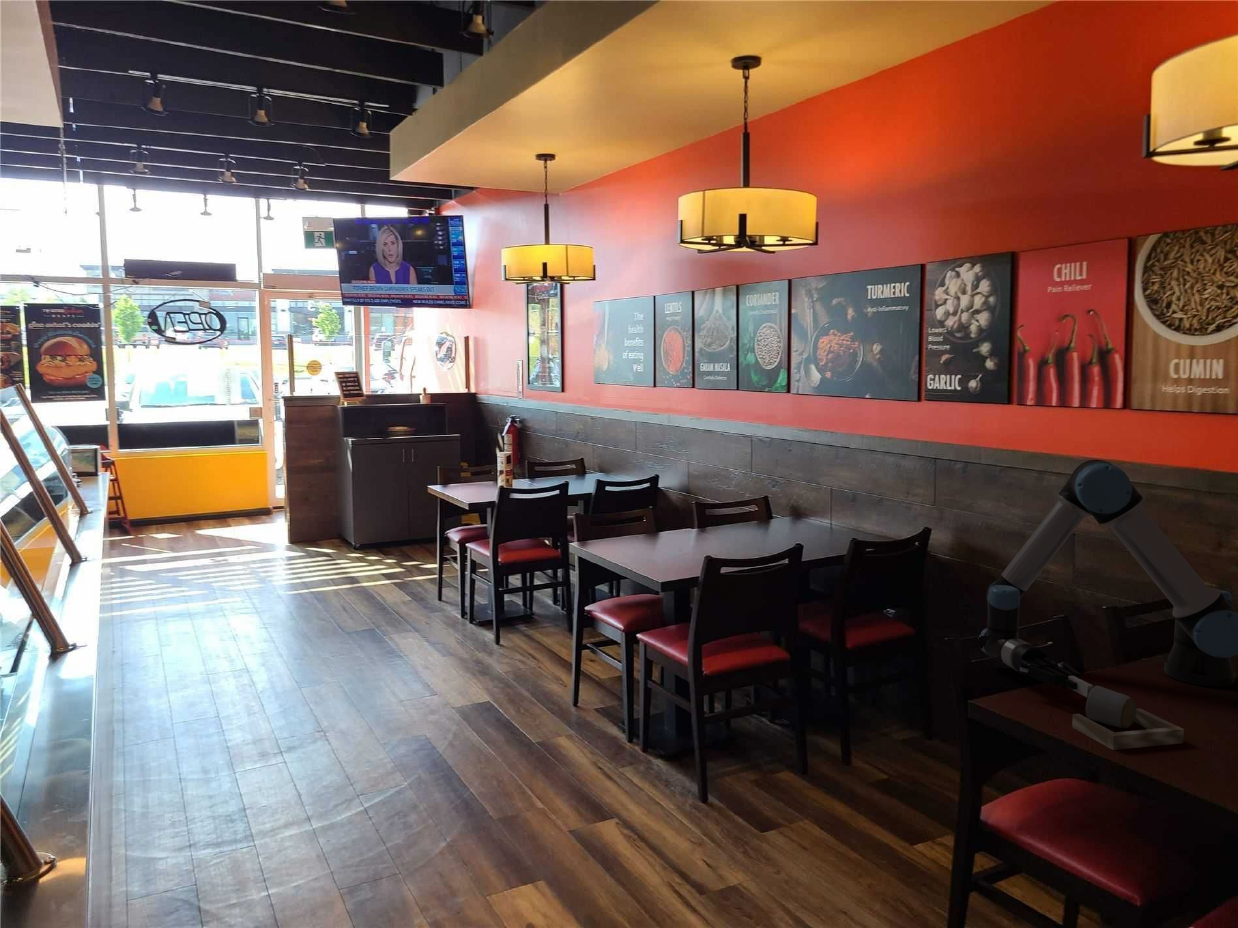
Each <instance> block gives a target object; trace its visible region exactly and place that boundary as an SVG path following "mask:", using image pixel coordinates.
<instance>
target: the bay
mask: <svg viewBox="0 0 1238 928" xmlns="http://www.w3.org/2000/svg"><path fill="white" fill-rule="evenodd" d="M1071 721H1072V722H1071V723H1072V724H1071V725H1072V726H1071V728H1072V727H1073V728H1072V729H1075V730H1076V731H1078V732H1080V733H1082V734H1084V735H1085V736H1087V737H1089V738H1091V739H1092V740H1094V741H1096V742H1098V743H1099V744H1101V745H1104V746H1105V747H1106V748H1108V749H1111V750H1112V751H1117V750H1126V749H1127V750H1128V749H1137V748H1147V747H1148V748H1149V747H1157V746H1169V745H1177V744H1184V735H1185V729H1184V728H1182V727H1180V726H1178V725H1175V724H1174V723H1171V722H1170V721H1167V720H1165V719H1163V718H1162V717H1159V716H1156V714H1153V713H1151V712H1148V711H1146V710H1145V709H1142V708H1138V707H1137V708H1136V715H1135V718H1134V721H1133V723H1135V724H1137V725H1138V726H1140V727H1142V728H1145V729H1140V730H1139V729H1137V730H1127V731H1117V732H1114V731H1113V730H1110V729H1109V728H1108V727H1105V726H1103V725H1101V724H1099V723H1097V721H1096V722H1095V720H1091V719H1089V718H1088V717H1087V716H1084V715H1083V714H1080V713H1072V720H1071Z"/></svg>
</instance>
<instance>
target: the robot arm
mask: <svg viewBox="0 0 1238 928" xmlns="http://www.w3.org/2000/svg"><path fill="white" fill-rule="evenodd" d="M1057 498H1058V500H1057V502H1056V503H1055V505H1054V506H1053V507H1052V508H1051V509H1050V510H1049V512H1048V514H1047V515H1045V517H1044V518H1043V519H1042V521H1041V523H1040V524H1039V525H1038V526H1037V528H1036V529H1035V530H1034V531H1033V533H1032V534H1031V535H1030V537H1028V539H1027V540H1026V541H1025V543H1024V544H1023V546H1022V547H1021V548H1020V549H1019V551H1018V552H1017V553H1016V555H1015V556H1014V557H1013V558H1012V560H1011V561H1010V563H1008V565H1007V566H1006V568H1004V570H1003V571H1002V573H1001V574H1000V576H999V577H998V578H997V579H996V581H994V582H993V583H992V582H991V584H990V585H989V587H987V588H988V589H987V590H986V600H987V601H986V602H987V625H986V628H984V629H983V630H982V631H981V633H980V635H979V636H978V638H979V637H981V636H990V635H993V634H994V636H990V639H989V640H987V642H986V644H985V646H983V648H982V649H981V648H980V650H981V652H983V653H985V655H988V657H990V658H991V657H992V656H1001V660H1003V661H1002V662H1003V663H1002V662H1001V663H1002V664H1005V666H1008V667H1010V668H1011V669H1012V670H1014V671H1015V672H1018V673H1019V674H1020V675H1022V676H1025V677H1029V678H1033V679H1035V680H1038V681H1040V682H1042V683H1045V684H1048V685H1051V686H1053V687H1057V686H1058V685H1059V686H1060V689H1061V690H1063V691H1066V690H1067V689H1069V690H1072V691H1073V692H1076V693H1078V694H1079V695H1082V696H1083V697H1085V698H1088V695H1089V693H1090V691H1091V690H1092V688H1093V687H1094V685H1093V684H1091V683H1089V682H1087V681H1085V680H1083V679H1082V674H1081V673H1080V672H1079V671H1078V670H1076V669H1075V668H1074V667H1072V666H1071V665H1070V664H1069V662H1068V661H1066V660H1064V661H1062V662H1060V663H1057V661H1055V660H1053V659H1050V658H1048V656H1047V654H1046V653H1045V651H1044V650H1042V649H1041V648H1039V647H1037V646H1035V645H1033V644H1032V643H1029V642H1027V641H1024V640H1023V639H1020V638H1019V624H1020V623H1019V620H1020V609H1021V608H1020V605H1021V599H1022V598H1023V596H1024V595H1025V593H1026V592H1027V591H1028V590H1029V588H1030V587H1031V586H1032V584H1033V583H1034V582H1035V580H1036V579H1037V578H1038V577H1039V575H1040V574H1041V573H1042V571H1044V569H1045V568H1046V567H1047V566H1048V565H1049V563H1050V562H1051V561H1052V559H1053V558H1054V557H1055V555H1056V554H1057V553H1058V551H1059V550H1060V549H1061V548H1062V546H1063V545H1064V544H1065V543H1066V541H1067V540H1068V539H1069V538H1070V537H1071V535H1072V534H1073V532H1074V531H1075V530H1076V529H1077V527H1078V526H1080V524H1081V522H1082V521H1083V520H1084V519H1085V518H1087V517H1093V518H1094V519H1095V521H1096V522H1097V524H1099V525H1100V526H1104V527H1108V528H1110V529H1111V530H1112V531H1113V533H1114V534H1115V535H1116V536H1117V538H1118V539H1119V540H1120V541H1121V543H1122V544H1123V545H1124V546H1125V548H1126V549H1127V550H1128V551H1129V553H1130V554H1131V555H1132V556H1133V558H1134V560H1135V561H1137V563H1138V564H1139V566H1141V567H1142V569H1143V570H1144V571H1145V572H1146V573H1147V575H1148V577H1150V578H1151V580H1152V581H1153V582H1154V583H1155V585H1156V586H1157V587H1158V588H1159V590H1160V591H1161V592H1162V593H1163V595H1164V596H1165V597H1166V599H1167V600H1168V601H1169V602H1170V603H1171V604H1172V606H1173V609H1172V612H1171V613H1172V616H1173V618H1175V620H1174V622H1175V623H1174V635H1173V636H1174V638H1173V645H1172V647H1171V649H1170V651H1169V655H1168V656H1167V659H1166V660H1165V662H1164V667H1163V668H1164V671H1163V672H1164V674H1165V675H1167V676H1168V677H1170V678H1172V679H1175V680H1177V681H1180V682H1184V683H1188V684H1191V685H1192V684H1193V685H1197V686H1204V687H1214V688H1215V687H1216V688H1217V687H1219V688H1221V687H1230V686H1233V685H1234V684H1235V683H1236V672H1235V670H1234V669H1233V664H1232V660H1231V658H1232V657H1234V656H1238V611H1237V610H1236V609H1235V608H1234V606H1233V605H1232V604H1233V599H1232V598H1233V596H1232V594H1231V592H1229V591H1227V590H1222V589H1221V590H1220V589H1218V588H1214V587H1209V586H1208V585H1207V584H1206V583H1205V582H1204V581H1203V580H1202V578H1201V577H1200V576H1199V574H1197V572H1196V571H1195V570H1194V569H1193V567H1191V565H1190V564H1189V562H1188V561H1187V560H1186V559H1185V558H1184V556H1183V555H1182V554H1181V552H1179V550H1178V549H1177V548H1176V547H1175V545H1174V544H1173V543H1172V541H1170V539H1169V538H1168V537H1167V536H1166V534H1165V533H1164V532H1163V531H1162V529H1161V528H1160V527H1159V526H1158V525H1157V524H1156V522H1155V521H1154V520H1153V518H1152V517H1151V516H1150V515H1149V514H1148V513H1147V511H1146V510H1145V508H1144V507H1143V503H1144V499H1145V498H1144V497H1143V496H1142V495H1141V493H1140V491H1138V489H1137V488H1136V487H1135V486H1134V485H1133V483H1132V481H1130V477H1129V476H1128V475H1127V473H1126V472H1125V471H1124V470H1123V469H1121V468H1120V467H1118V466H1116V465H1114V464H1112V463H1111V462H1108V461H1106V460H1103V459H1090V460H1087V461H1084V462H1082V463H1081V464H1079V465H1078V466H1076V468H1075V469H1074V470H1073V472H1072V473H1071V474H1070V476H1069V478H1068V479H1067V481H1066V482H1065V484H1064V485H1063V487H1062V488H1061V490H1060V491H1059V492H1058V494H1057ZM1234 682H1235V683H1234ZM1233 683H1234V684H1233Z"/></svg>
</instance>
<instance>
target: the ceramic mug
mask: <svg viewBox="0 0 1238 928" xmlns="http://www.w3.org/2000/svg"><path fill="white" fill-rule="evenodd" d="M1136 709H1137V704H1136V701H1135V699H1133V698H1132V697H1130V696H1128V695H1126V694H1124V693H1121V692H1117V691H1114V690H1112V689H1109V688H1105V687H1104V686H1102V685H1101V686H1100V685H1095V686H1093V688H1092V690H1091V691H1090V693H1089V695H1088V697H1086V703H1085V714H1086V718H1088V719H1090V720H1092V721H1094V722H1095V721H1096V722H1099V723H1101V724H1105V725H1109V726H1112V727H1114V728H1118V729H1128V728H1130V727H1131V726H1132V725H1133V723H1134V722H1133V721H1134V718H1135V715H1136Z"/></svg>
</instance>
